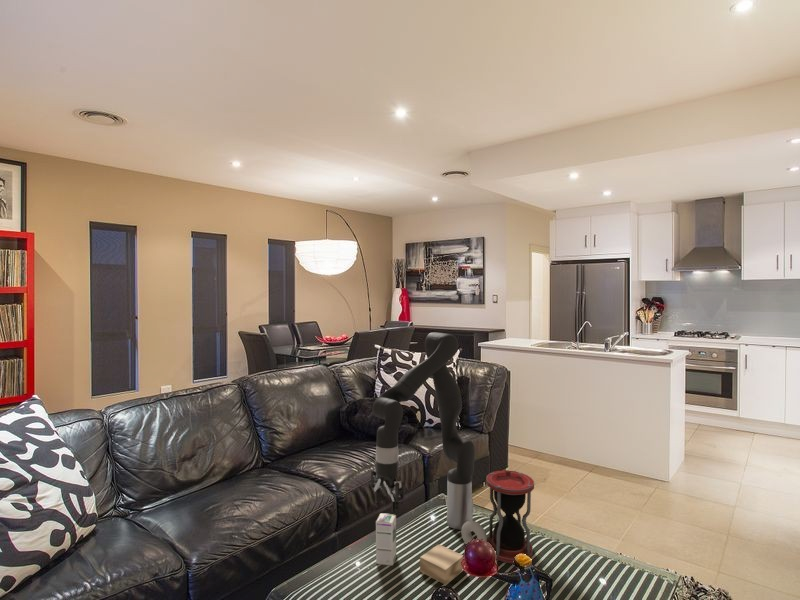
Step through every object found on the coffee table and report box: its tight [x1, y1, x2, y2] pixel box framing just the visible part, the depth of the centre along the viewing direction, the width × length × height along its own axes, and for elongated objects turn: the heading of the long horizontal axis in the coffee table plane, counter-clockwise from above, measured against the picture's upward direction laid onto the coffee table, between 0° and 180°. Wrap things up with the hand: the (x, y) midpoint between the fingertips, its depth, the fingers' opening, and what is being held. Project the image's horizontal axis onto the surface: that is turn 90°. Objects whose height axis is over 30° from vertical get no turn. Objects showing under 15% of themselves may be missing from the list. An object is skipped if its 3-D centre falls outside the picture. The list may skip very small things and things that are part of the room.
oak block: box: [419, 543, 464, 586], centre depth 154 cm, size 10×10×5 cm
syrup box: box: [375, 513, 397, 566], centre depth 159 cm, size 6×6×14 cm
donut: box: [460, 520, 488, 545], centre depth 166 cm, size 10×4×10 cm, turn 47°
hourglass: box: [485, 470, 535, 564], centre depth 165 cm, size 16×16×25 cm
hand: (386, 506), depth 159 cm, fingers open, 8 cm apart
